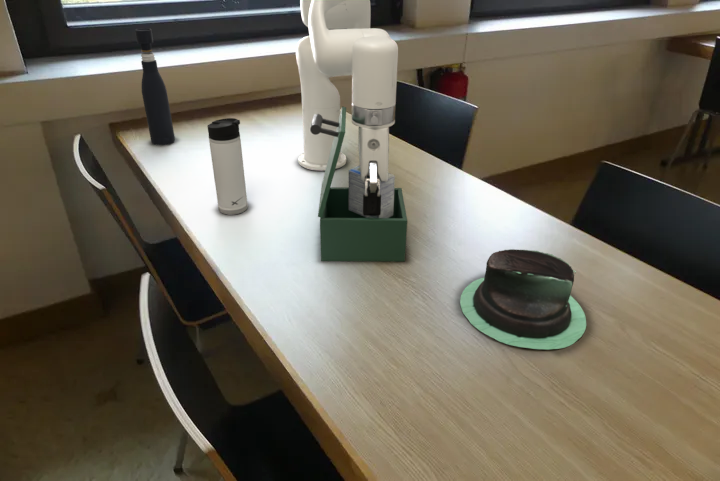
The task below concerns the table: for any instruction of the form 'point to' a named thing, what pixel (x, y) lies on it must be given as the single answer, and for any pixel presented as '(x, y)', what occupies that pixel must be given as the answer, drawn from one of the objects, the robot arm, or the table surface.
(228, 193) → the travel mug
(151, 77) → the dark blue water bottle
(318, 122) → the lid
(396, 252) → the chest
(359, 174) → the medicine box
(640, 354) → the table surface
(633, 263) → the table surface
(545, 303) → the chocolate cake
